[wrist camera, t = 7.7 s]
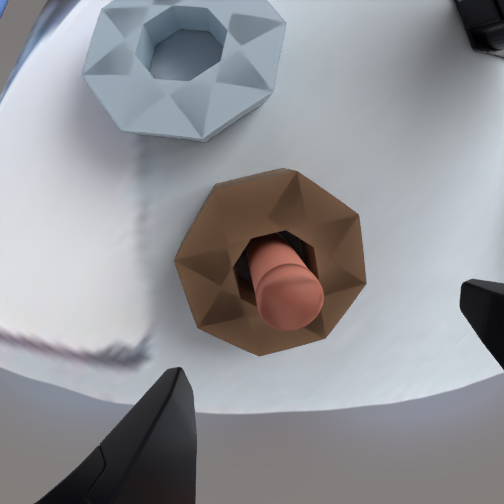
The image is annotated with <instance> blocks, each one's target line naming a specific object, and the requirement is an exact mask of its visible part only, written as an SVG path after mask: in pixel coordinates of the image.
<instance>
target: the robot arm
mask: <svg viewBox="0 0 504 504" xmlns="http://www.w3.org/2000/svg"><path fill="white" fill-rule="evenodd" d="M455 2H456V4H457V6H458V9H459V11H460V14H461V16H462V19H463V22H464V25H465V27H466V30H467V33H468V36H469V39H470V42H471V45H472V47H473V49H474V50H475V51H477V52H482V53H487V54H491V55H496V56H500V57H504V0H455ZM460 309H461V312H462V313H463V315H464V316H465V317H466V319H467V320H468V322H469V323H470V325H471V326H472V328H473V329H474V331H475V332H476V334H477V335H478V337H479V338H480V340H481V341H482V342H483V344H484V345H485V346H486V348H487V349H488V350H489V351H490V353H491V354H492V355H493V357H494V358H495V359H496V360H497V362H498V363H499V364H500V366H501V367H502V368H503V370H504V283H498V282H491V281H484V280H478V279H470V280H468V281H465V282H463V283H462V286H461V294H460ZM196 454H197V433H196V421H195V409H194V397H193V390H192V387H191V385H190V383H189V381H188V379H187V377H186V375H185V373H184V371H183V369H182V368H181V367H176V368H170V369H167V370H166V371H165V372H164V373H163V374H162V376H161V377H160V378H159V379H158V380H157V381H156V382H155V383H154V384H153V386H152V387H151V388H150V389H149V390H148V391H147V392H146V393H145V394H144V396H143V397H142V398H141V399H140V400H139V401H138V402H137V403H136V404H135V406H134V407H133V408H132V409H131V410H130V411H129V412H128V413H127V414H126V416H125V417H124V418H123V419H122V420H121V421H120V422H119V423H118V424H117V426H116V427H115V428H114V429H113V430H112V431H111V432H110V433H109V434H108V435H107V436H106V438H105V439H104V440H103V441H102V442H101V443H100V446H97V447H96V448H95V449H94V451H92V453H91V454H90V455H89V456H88V457H87V458H86V459H85V460H84V461H83V462H82V463H81V464H80V465H79V466H78V467H77V468H76V469H75V470H74V471H72V472H71V473H70V474H69V475H68V476H67V477H66V478H65V479H64V480H62V481H61V482H60V483H59V484H58V485H57V486H55V487H54V488H53V489H52V490H51V491H50V492H48V493H47V494H46V495H45V496H44V497H43V498H41V499H40V500H39V501H37V502H36V503H34V504H195V496H196Z"/></svg>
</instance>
